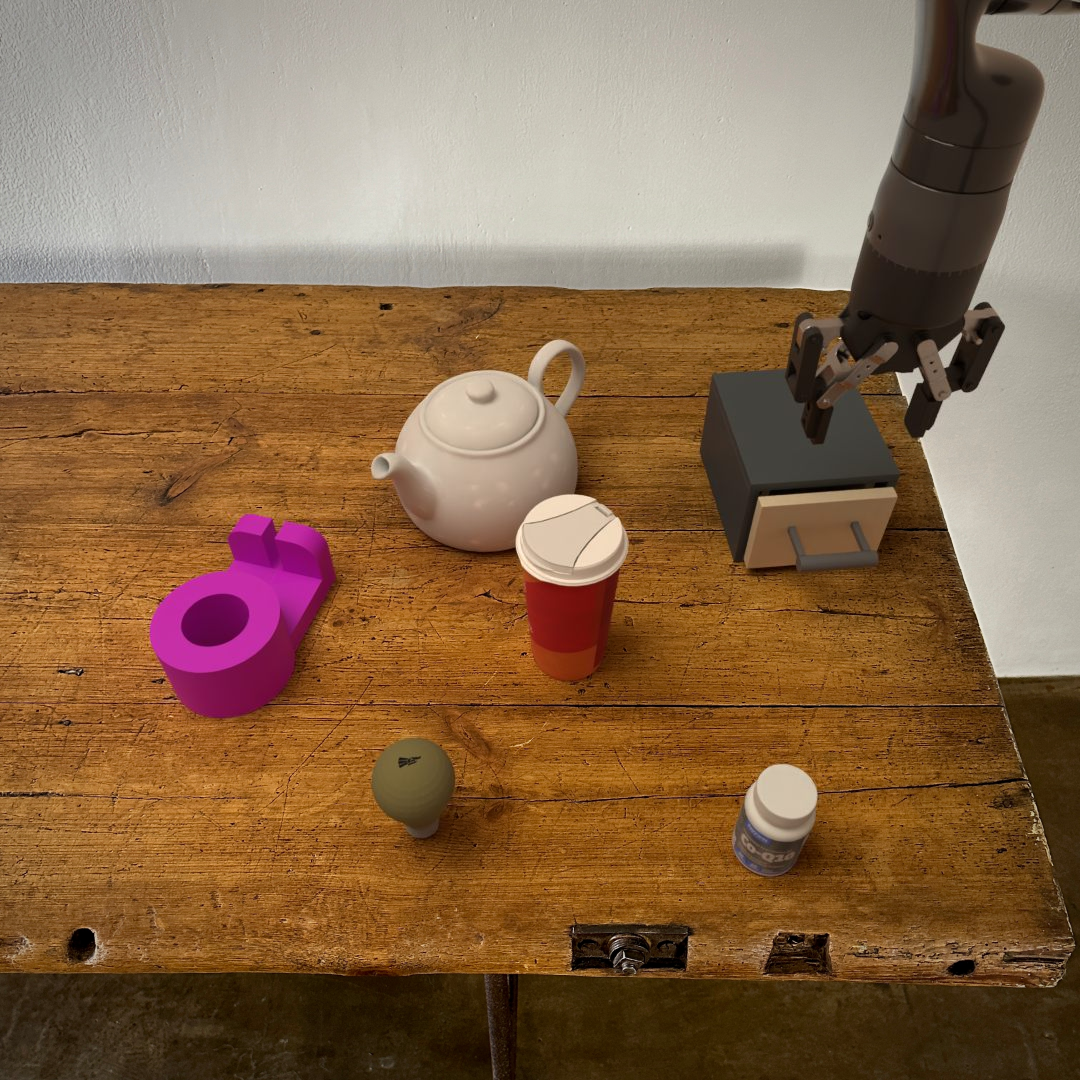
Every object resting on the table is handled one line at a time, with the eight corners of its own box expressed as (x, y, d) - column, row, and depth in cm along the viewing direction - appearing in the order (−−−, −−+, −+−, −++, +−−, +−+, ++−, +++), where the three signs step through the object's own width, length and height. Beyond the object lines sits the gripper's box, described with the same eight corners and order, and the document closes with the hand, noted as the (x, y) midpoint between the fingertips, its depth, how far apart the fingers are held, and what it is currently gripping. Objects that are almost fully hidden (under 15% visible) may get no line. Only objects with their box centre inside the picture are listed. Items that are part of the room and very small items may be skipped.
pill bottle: (725, 866, 69) (743, 811, 62) (738, 807, 72) (757, 749, 65) (792, 887, 68) (818, 833, 61) (802, 827, 71) (828, 769, 64)
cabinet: (871, 551, 88) (901, 473, 81) (733, 562, 88) (751, 484, 80) (823, 442, 98) (846, 364, 91) (699, 450, 97) (712, 373, 90)
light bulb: (410, 880, 68) (393, 814, 60) (370, 819, 71) (350, 750, 63) (476, 835, 70) (468, 767, 63) (435, 778, 73) (423, 707, 66)
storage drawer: (892, 600, 83) (918, 538, 78) (759, 610, 83) (776, 549, 77) (828, 455, 96) (847, 392, 90) (712, 463, 95) (724, 400, 89)
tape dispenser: (261, 730, 76) (242, 685, 71) (149, 701, 78) (124, 655, 73) (343, 579, 86) (332, 531, 82) (243, 556, 88) (226, 508, 83)
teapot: (590, 565, 87) (597, 454, 77) (385, 566, 87) (365, 454, 77) (582, 427, 100) (587, 316, 90) (403, 428, 100) (388, 316, 90)
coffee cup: (572, 596, 85) (577, 473, 74) (638, 655, 81) (653, 534, 70) (497, 647, 81) (490, 525, 70) (562, 712, 77) (565, 593, 66)
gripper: (835, 274, 57) (783, 475, 70) (1067, 261, 58) (976, 461, 71) (799, 209, 62) (757, 408, 75) (1014, 198, 63) (937, 396, 76)
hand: (863, 433), depth 73 cm, fingers open, 7 cm apart
